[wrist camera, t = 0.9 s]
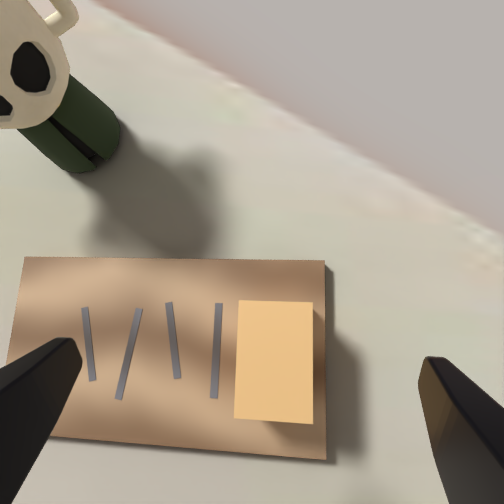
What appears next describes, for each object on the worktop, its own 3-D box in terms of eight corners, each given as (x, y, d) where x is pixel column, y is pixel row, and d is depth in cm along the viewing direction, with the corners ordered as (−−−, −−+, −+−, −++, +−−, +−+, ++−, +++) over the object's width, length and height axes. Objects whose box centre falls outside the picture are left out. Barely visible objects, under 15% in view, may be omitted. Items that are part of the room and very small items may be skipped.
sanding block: (309, 404, 20) (312, 424, 17) (244, 400, 21) (233, 418, 17) (309, 305, 22) (312, 302, 18) (248, 303, 22) (238, 300, 18)
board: (324, 453, 21) (326, 460, 20) (6, 426, 23) (-7, 431, 22) (323, 263, 23) (324, 260, 22) (34, 259, 26) (24, 256, 25)
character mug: (52, 211, 26) (-168, 112, 14) (16, 148, 28) (-210, 7, 16) (163, 132, 27) (47, -37, 14) (121, 74, 28) (-18, -124, 16)
